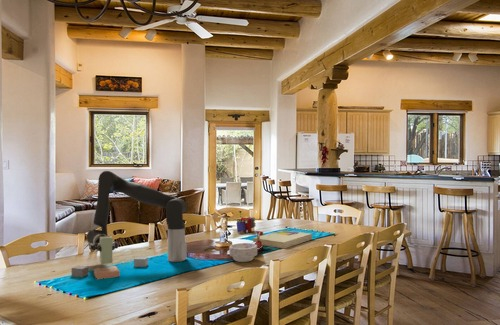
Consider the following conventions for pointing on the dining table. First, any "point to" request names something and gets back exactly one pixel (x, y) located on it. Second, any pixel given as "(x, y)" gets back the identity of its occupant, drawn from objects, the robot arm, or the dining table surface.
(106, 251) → the sage tower brick
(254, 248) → the paper bowls
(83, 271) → the grey rectangular block
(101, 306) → the dining table surface
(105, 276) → the terracotta base brick
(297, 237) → the puzzle box
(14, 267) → the dining table surface
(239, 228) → the robot toy
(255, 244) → the toy fire truck
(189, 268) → the dining table surface
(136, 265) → the light gray block
